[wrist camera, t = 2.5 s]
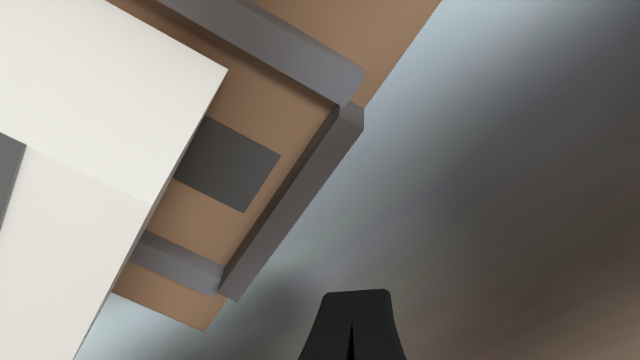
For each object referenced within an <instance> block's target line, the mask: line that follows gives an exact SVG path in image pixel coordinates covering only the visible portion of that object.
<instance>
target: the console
mask: <svg viewBox="0 0 640 360" xmlns="http://www.w3.org/2000/svg"><path fill="white" fill-rule="evenodd" d="M105 1H107V2H109V3H110V4H112V5H114V6H116V7H118V8H119V9H121V10H123V11H125V12H127V13H128V14H130V15H132V16H134V17H135V18H137V19H139V20H141V21H143V22H144V23H146V24H148V25H150V26H152V27H153V28H155V29H157V30H159V31H160V32H162V33H164V34H166V35H168V36H169V37H171V38H173V39H175V40H177V41H178V42H180V43H182V44H184V45H185V46H187V47H189V48H191V49H193V50H194V51H196V52H198V53H200V54H202V55H203V56H205V57H207V58H209V59H210V60H212V61H214V62H216V63H218V64H219V65H221V66H223V67H225V68H227V69H228V71H227V73H226V75H225V77H224V79H223V81H222V83H221V85H220V87H219V89H218V91H217V92H216V94H215V96H214V98H213V100H212V102H211V104H210V106H209V108H208V110H207V112H206V114H205V115H204V117H203V119H202V121H201V123H200V125H199V127H198V129H197V131H196V133H195V135H194V137H193V138H192V140H191V142H190V144H189V146H188V148H187V150H186V152H185V154H184V156H183V158H182V160H181V161H180V163H179V165H178V167H177V169H176V171H175V173H174V175H173V177H172V179H171V181H170V183H169V184H168V186H167V188H166V190H165V192H164V194H163V196H162V198H161V200H160V202H159V204H158V206H157V207H156V209H155V211H154V213H153V215H152V217H151V219H150V221H149V223H148V225H147V226H146V228H145V230H144V232H143V234H142V236H141V237H140V239H139V241H138V243H137V245H136V247H135V248H134V250H133V252H132V254H131V256H130V258H129V259H128V261H127V263H126V265H125V267H124V269H123V270H122V272H121V274H120V276H119V278H118V279H117V281H116V283H115V285H114V287H113V289H112V290H111V292H112V293H115V294H117V295H119V296H122V297H124V298H126V299H129V300H131V301H133V302H136V303H138V304H140V305H143V306H145V307H147V308H149V309H152V310H154V311H156V312H159V313H161V314H163V315H166V316H168V317H170V318H173V319H175V320H177V321H180V322H182V323H184V324H186V325H189V326H191V327H193V328H196V329H198V330H200V331H203V332H204V331H205V330H206V328H207V327H208V326H209V324H210V323H211V321H212V320H213V319H214V317H215V316H216V314H217V313H218V312H219V310H220V309H221V307H222V306H223V305H224V303H225V302H226V301H227V299H228V298H229V299H231V300H234V301H236V302H237V301H238V300H239V299H240V297H241V296H242V295H243V293H244V292H245V291H246V289H247V288H248V286H249V285H250V284H251V282H252V281H253V280H254V278H255V277H256V276H257V274H258V273H259V271H260V270H261V269H262V267H263V266H264V265H265V263H266V262H267V261H268V259H269V258H270V257H271V255H272V254H273V252H274V251H275V250H276V248H277V247H278V246H279V244H280V243H281V242H282V240H283V239H284V238H285V236H286V235H287V233H288V232H289V231H290V229H291V228H292V227H293V225H294V224H295V223H296V221H297V220H298V219H299V217H300V216H301V214H302V213H303V212H304V210H305V209H306V208H307V206H308V205H309V204H310V202H311V201H312V199H313V198H314V197H315V195H316V194H317V193H318V191H319V190H320V189H321V187H322V186H323V185H324V183H325V182H326V180H327V179H328V178H329V176H330V175H331V174H332V172H333V171H334V170H335V168H336V167H337V166H338V164H339V163H340V161H341V160H342V159H343V157H344V156H345V155H346V153H347V152H348V151H349V149H350V148H351V146H352V145H353V144H354V142H355V141H356V140H357V138H358V137H359V136H360V134H361V133H362V132H363V130H364V108H365V107H366V105H367V104H368V102H369V101H370V100H371V98H372V97H373V95H374V94H375V93H376V91H377V90H378V88H379V87H380V86H381V84H382V83H383V82H384V80H385V79H386V77H387V76H388V75H389V73H390V72H391V70H392V69H393V68H394V66H395V65H396V63H397V62H398V61H399V59H400V58H401V56H402V55H403V54H404V52H405V51H406V49H407V48H408V47H409V45H410V44H411V42H412V41H413V40H414V38H415V37H416V35H417V34H418V33H419V31H420V30H421V29H422V27H423V26H424V24H425V23H426V22H427V20H428V19H429V17H430V16H431V15H432V13H433V12H434V10H435V9H436V8H437V6H438V5H439V3H440V2H441V1H442V0H105Z"/></svg>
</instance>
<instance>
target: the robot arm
mask: <svg viewBox="0 0 640 360" xmlns="http://www.w3.org/2000/svg"><path fill="white" fill-rule="evenodd" d="M298 360H407V359H406V357H405V354H404V351H403V349H402V346H401V343H400V339H399V336H398V333H397V329H396V326H395V322H394V317H393V310H392V303H391V296H390V292H389V291H387V290H385V289H373V290H358V291H344V292H329V293H327V294H326V295H324V296H323V299H322V302H321V305H320V308H319V311H318V314H317V316H316V319H315V322H314V324H313V327H312V329H311V332H310V334H309V336H308V339H307V341H306V343H305V346H304V348H303V350H302V352H301V354H300V356H299V358H298Z"/></svg>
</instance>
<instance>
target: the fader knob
mask: <svg viewBox="0 0 640 360" xmlns="http://www.w3.org/2000/svg"><path fill="white" fill-rule="evenodd" d="M227 71H228V69H227V68H225V67H223V66H221V65H219V64H218V63H216V62H214V61H212V60H210V59H209V58H207V57H205V56H203V55H202V54H200V53H198V52H196V51H194V50H193V49H191V48H189V47H187V46H185V45H184V44H182V43H180V42H178V41H177V40H175V39H173V38H171V37H169V36H168V35H166V34H164V33H162V32H160V31H159V30H157V29H155V28H153V27H152V26H150V25H148V24H146V23H144V22H143V21H141V20H139V19H137V18H135V17H134V16H132V15H130V14H128V13H127V12H125V11H123V10H121V9H119V8H118V7H116V6H114V5H112V4H110V3H109V2H107V1H105V0H0V360H74V358H75V356H76V354H77V353H78V351H79V349H80V347H81V345H82V343H83V342H84V340H85V338H86V336H87V334H88V333H89V331H90V329H91V327H92V325H93V323H94V322H95V320H96V318H97V316H98V314H99V312H100V311H101V309H102V307H103V305H104V303H105V301H106V300H107V298H108V296H109V294H110V292H111V290H112V289H113V287H114V285H115V283H116V281H117V279H118V278H119V276H120V274H121V272H122V270H123V269H124V267H125V265H126V263H127V261H128V259H129V258H130V256H131V254H132V252H133V250H134V248H135V247H136V245H137V243H138V241H139V239H140V237H141V236H142V234H143V232H144V230H145V228H146V226H147V225H148V223H149V221H150V219H151V217H152V215H153V213H154V211H155V209H156V207H157V206H158V204H159V202H160V200H161V198H162V196H163V194H164V192H165V190H166V188H167V186H168V184H169V183H170V181H171V179H172V177H173V175H174V173H175V171H176V169H177V167H178V165H179V163H180V161H181V160H182V158H183V156H184V154H185V152H186V150H187V148H188V146H189V144H190V142H191V140H192V138H193V137H194V135H195V133H196V131H197V129H198V127H199V125H200V123H201V121H202V119H203V117H204V115H205V114H206V112H207V110H208V108H209V106H210V104H211V102H212V100H213V98H214V96H215V94H216V92H217V91H218V89H219V87H220V85H221V83H222V81H223V79H224V77H225V75H226V73H227Z"/></svg>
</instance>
